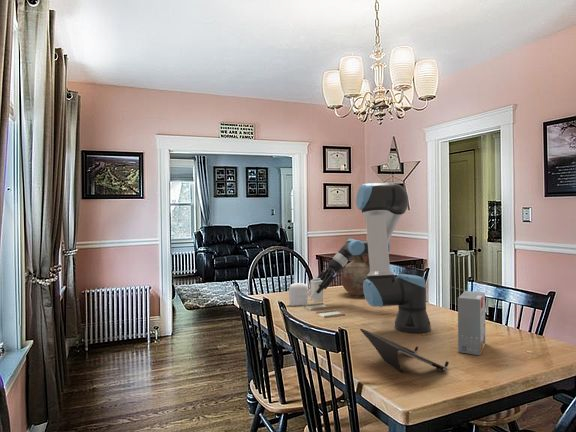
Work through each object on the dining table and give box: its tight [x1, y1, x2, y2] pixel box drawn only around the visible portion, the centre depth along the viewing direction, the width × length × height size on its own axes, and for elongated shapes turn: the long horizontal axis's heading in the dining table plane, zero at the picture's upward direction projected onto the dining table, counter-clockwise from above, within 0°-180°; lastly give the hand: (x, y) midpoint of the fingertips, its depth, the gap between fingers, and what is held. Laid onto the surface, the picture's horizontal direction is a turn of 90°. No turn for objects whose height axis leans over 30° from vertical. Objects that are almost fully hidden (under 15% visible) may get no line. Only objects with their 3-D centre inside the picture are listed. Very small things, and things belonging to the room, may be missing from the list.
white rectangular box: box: [309, 277, 324, 304], centre depth 215 cm, size 5×5×12 cm
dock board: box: [303, 302, 346, 319], centre depth 207 cm, size 26×12×2 cm, turn 20°
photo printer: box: [288, 282, 309, 307], centre depth 226 cm, size 10×4×12 cm, turn 98°
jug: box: [340, 255, 370, 298], centre depth 248 cm, size 22×22×30 cm
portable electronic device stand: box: [359, 328, 450, 374], centre depth 136 cm, size 23×23×9 cm
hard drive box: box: [457, 290, 486, 356], centre depth 151 cm, size 16×8×20 cm, turn 148°
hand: (310, 296), depth 214 cm, fingers closed on white rectangular box, 5 cm apart
